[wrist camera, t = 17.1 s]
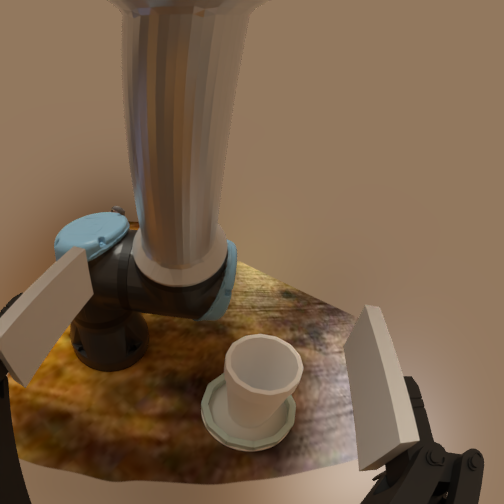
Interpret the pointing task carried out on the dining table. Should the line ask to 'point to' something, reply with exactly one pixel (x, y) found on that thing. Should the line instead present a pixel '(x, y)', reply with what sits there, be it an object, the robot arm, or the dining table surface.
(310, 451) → the dining table surface
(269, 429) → the ceramic saucer
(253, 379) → the foam cup
